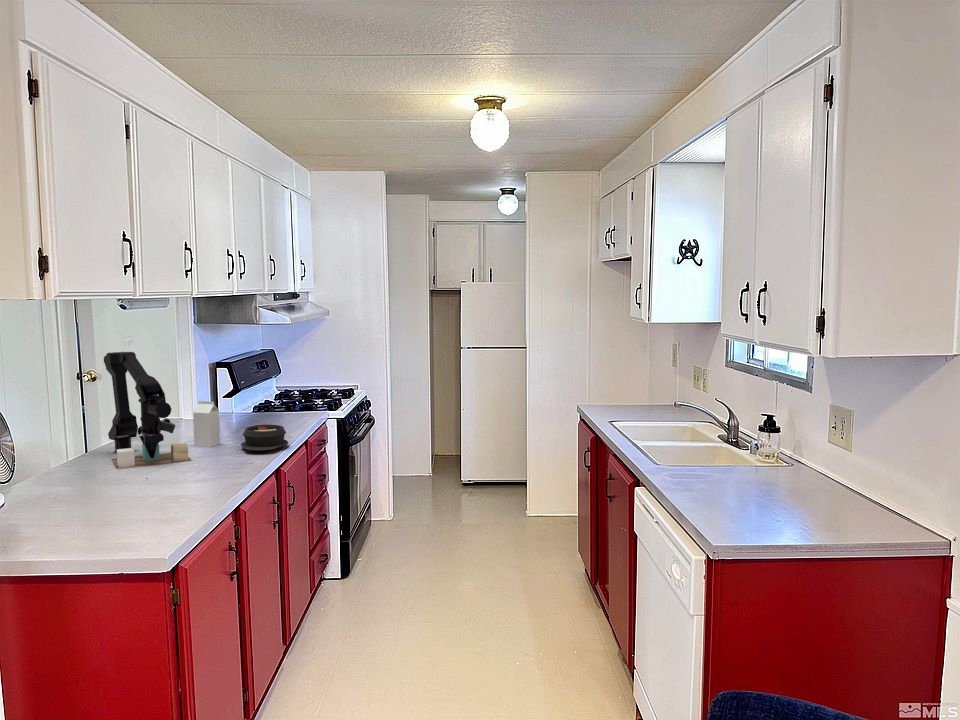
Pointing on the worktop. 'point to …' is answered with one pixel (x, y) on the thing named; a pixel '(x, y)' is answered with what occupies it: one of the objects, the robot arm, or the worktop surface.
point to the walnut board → (139, 462)
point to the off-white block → (125, 457)
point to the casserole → (264, 437)
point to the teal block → (146, 454)
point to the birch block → (179, 451)
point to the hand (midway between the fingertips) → (151, 456)
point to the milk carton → (206, 424)
